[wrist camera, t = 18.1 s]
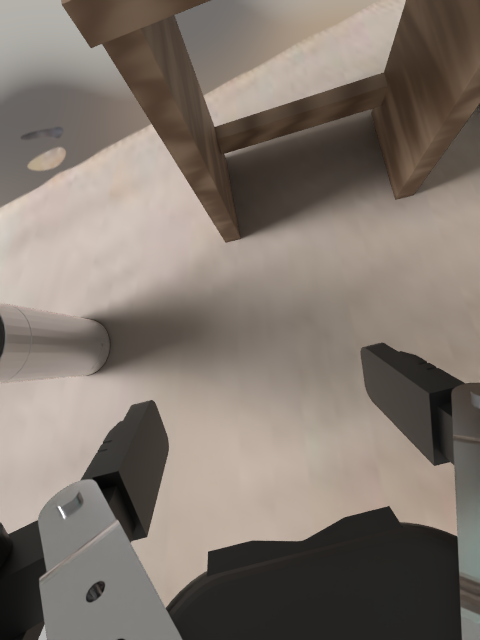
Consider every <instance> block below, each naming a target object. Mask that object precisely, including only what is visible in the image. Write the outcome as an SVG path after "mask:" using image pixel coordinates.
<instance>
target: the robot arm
mask: <svg viewBox="0 0 480 640" xmlns="http://www.w3.org/2000/svg"><path fill="white" fill-rule="evenodd" d="M109 350H110V341H109V336H108V333H107V331H106V330H105V328H104V327H103V326H102V325H101V324H100V323H98V322H97V321H94V320H91V319H85V318H80V317H75V316H69V315H64V314H58V313H53V312H47V311H42V310H36V309H31V308H25V307H20V306H14V305H8V304H2V303H0V383H8V382H20V381H31V380H42V379H53V378H64V377H76V376H87V375H90V374H93V373H95V372H96V371H98V370H99V369H100V368H101V367H102V366H103V364H104V363H105V361H106V359H107V357H108V354H109ZM361 360H362V367H363V374H364V381H365V387H366V390H367V393H368V395H369V397H370V399H371V400H372V402H373V403H374V404H375V405H376V406H377V407H378V408H379V409H380V410H381V411H382V412H383V413H384V414H385V415H386V416H387V417H388V418H389V419H390V420H391V421H392V422H393V423H394V424H395V426H396V427H397V428H398V429H399V430H400V431H401V432H402V433H403V434H404V435H405V436H406V437H407V438H408V439H409V440H410V441H411V442H412V443H413V444H414V445H415V446H416V447H417V448H418V449H419V450H420V452H421V453H422V454H423V455H424V456H425V457H426V458H427V459H428V460H429V461H430V462H431V463H432V464H433V465H434V466H436V465H440V464H444V463H448V462H451V463H452V464H453V465H454V468H455V490H456V513H457V535H458V537H457V536H455V535H453V534H450V533H448V532H445V531H442V530H439V529H436V528H433V527H429V526H424V525H420V524H413V523H403V522H399V521H398V519H397V518H396V516H395V514H394V513H393V511H392V510H391V508H390V507H389V506H388V507H384V508H380V509H376V510H372V511H368V512H364V513H360V514H356V515H352V516H348V517H345V518H343V519H341V520H339V521H338V522H336V523H334V524H332V525H330V526H329V527H327V528H325V529H323V530H322V531H320V532H318V533H316V534H315V535H313V536H311V537H309V538H308V539H306V540H303V541H249V542H245V543H241V544H237V545H233V546H229V547H225V548H221V549H217V550H213V551H209V552H208V569H207V571H206V572H204V573H203V574H201V575H200V576H198V577H197V578H196V579H194V580H193V581H191V582H190V583H189V584H188V585H187V586H186V587H185V588H183V589H182V590H181V591H180V592H179V593H178V594H177V596H176V597H175V598H174V599H173V600H172V601H171V602H170V603H169V605H168V606H167V607H166V608H165V606H164V604H163V603H162V601H161V599H160V597H159V595H158V593H157V591H156V590H155V588H154V586H153V584H152V582H151V580H150V578H149V577H148V575H147V573H146V571H145V569H144V567H143V565H142V564H141V562H140V560H139V558H138V556H137V554H136V552H135V551H134V549H133V547H132V545H131V541H134V540H138V539H141V538H145V537H147V535H148V531H149V527H150V523H151V519H152V515H153V511H154V507H155V503H156V499H157V496H158V492H159V488H160V484H161V480H162V476H163V472H164V468H165V464H166V460H167V456H168V451H169V443H168V437H167V433H166V431H165V428H164V425H163V422H162V420H161V417H160V414H159V411H158V409H157V406H156V404H155V402H154V401H153V400H150V401H146V402H142V403H138V404H134V405H132V406H131V407H130V409H129V411H128V413H127V414H126V416H125V418H124V420H123V421H120V422H119V423H118V424H117V425H116V426H115V427H114V428H113V429H112V430H111V431H110V432H109V433H108V435H107V436H106V438H105V440H104V441H103V444H102V445H101V446H100V448H99V450H98V453H96V455H95V457H94V458H93V460H92V462H91V463H90V465H89V467H88V468H87V470H86V472H85V473H84V475H83V477H82V478H81V480H80V481H78V482H75V483H73V484H71V485H69V486H67V487H66V488H64V489H62V490H61V491H60V492H58V493H57V494H56V495H55V496H53V497H52V498H51V499H50V500H49V501H48V502H47V504H46V505H45V506H44V507H43V509H42V510H41V512H40V514H39V518H38V520H37V521H35V522H33V523H31V524H29V525H27V526H25V527H23V528H21V529H19V530H16V531H14V532H12V533H10V534H8V533H7V532H6V530H5V528H4V527H3V525H2V523H0V640H38V638H39V636H40V634H41V631H42V629H43V626H44V624H45V629H46V636H47V640H480V383H466V384H465V383H464V382H462V381H460V380H458V379H457V378H455V377H453V376H451V375H450V374H448V373H446V372H444V371H443V370H441V369H439V368H436V366H434V365H432V364H430V363H427V361H425V360H423V359H422V358H420V357H418V356H416V355H413V354H409V353H406V352H402V351H400V352H398V351H396V350H395V349H393V348H391V347H390V346H388V345H386V344H385V343H378V344H374V345H370V346H366V347H363V348H362V349H361Z"/></svg>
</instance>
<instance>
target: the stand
mask: <svg viewBox="0 0 480 640" xmlns="http://www.w3.org/2000/svg"><path fill="white" fill-rule="evenodd" d="M208 1H210V0H61V2H62V6H63V7H64V9H65V10H66V11H67V13H68V15H69V16H70V18H71V19H72V21H73V22H74V23H75V25H76V26H77V28H78V29H79V31H80V32H81V34H82V36H83V37H84V38H85V40H86V41H87V43H88V44H89V46H90V47H91V48H93V47H95V46H97V45H100V44H103V46H104V48H105V49H106V51H107V53H108V54H109V56H110V57H111V59H112V61H113V62H114V64H115V65H116V67H117V69H118V70H119V72H120V74H121V75H122V76H123V78H124V80H125V82H126V83H127V85H128V86H129V88H130V90H131V91H132V93H133V94H134V96H135V98H136V99H137V101H138V102H139V104H140V106H141V107H142V109H143V110H144V112H145V113H146V115H147V117H148V118H149V120H150V122H151V123H152V125H153V127H154V128H155V130H156V131H157V133H158V135H159V136H160V138H161V139H162V141H163V143H164V144H165V146H166V147H167V149H168V151H169V152H170V154H171V155H172V157H173V159H174V160H175V162H176V163H177V165H178V167H179V168H180V170H181V172H182V173H183V175H184V176H185V178H186V180H187V181H188V183H189V184H190V186H191V188H192V189H193V191H194V192H195V194H196V196H197V197H198V199H199V200H200V202H201V204H202V205H203V207H204V208H205V210H206V212H207V213H208V215H209V217H210V218H211V220H212V221H213V223H214V225H215V226H216V228H217V229H218V231H219V233H220V234H221V236H222V237H223V239H224V241H225V242H229V241H233V240H237V239H241V238H240V233H239V228H238V222H237V217H236V211H235V206H234V201H233V195H232V190H231V185H230V179H229V174H228V168H227V163H226V158H225V155H224V154H225V153H228V152H232V151H235V150H238V149H242V148H245V147H248V146H251V145H255V144H258V143H261V142H264V141H268V140H271V139H274V138H278V137H281V136H284V135H287V134H291V133H294V132H297V131H301V130H304V129H307V128H310V127H314V126H317V125H320V124H324V123H327V122H330V121H333V120H337V119H340V118H343V117H346V116H350V115H353V114H356V113H360V112H363V111H366V110H369V109H373V110H372V113H371V115H372V119H373V122H374V126H375V129H376V133H377V136H378V140H379V143H380V147H381V151H382V154H383V158H384V161H385V165H386V168H387V172H388V175H389V179H390V182H391V186H392V189H393V193H394V196H395V200H396V199H400V198H404V197H408V196H412V195H414V194H415V192H416V191H417V189H418V188H419V187H420V185H421V184H422V183H423V181H424V180H425V178H426V177H427V176H428V174H429V173H430V171H431V170H432V169H433V167H434V166H435V165H436V163H437V162H438V160H439V159H440V158H441V156H442V155H443V153H444V152H445V151H446V149H447V148H448V147H449V145H450V144H451V142H452V141H453V140H454V138H455V137H456V135H457V134H458V133H459V131H460V130H461V129H462V127H463V126H464V124H465V123H466V122H467V120H468V119H469V117H470V116H471V115H472V113H473V112H474V111H475V109H476V108H477V106H478V105H479V104H480V0H406V3H405V6H404V9H403V12H402V16H401V19H400V22H399V25H398V29H397V32H396V35H395V38H394V42H393V45H392V48H391V51H390V55H389V58H388V61H387V64H386V68H385V71H384V73H381V74H378V75H375V76H372V77H368V78H365V79H362V80H359V81H356V82H353V83H350V84H347V85H344V86H341V87H337V88H334V89H331V90H328V91H325V92H322V93H319V94H316V95H313V96H310V97H306V98H303V99H300V100H297V101H294V102H291V103H288V104H285V105H282V106H279V107H275V108H272V109H269V110H266V111H263V112H260V113H257V114H254V115H251V116H248V117H244V118H241V119H238V120H235V121H232V122H229V123H226V124H223V125H220V126H217V127H214V124H213V122H212V119H211V116H210V113H209V111H208V108H207V105H206V102H205V99H204V97H203V94H202V91H201V88H200V85H199V83H198V80H197V77H196V74H195V71H194V69H193V66H192V63H191V60H190V58H189V55H188V52H187V49H186V47H185V44H184V41H183V38H182V35H181V32H180V30H179V27H178V24H177V21H176V19H175V16H174V15H175V14H178V13H180V12H183V11H185V10H188V9H190V8H193V7H195V6H198V5H200V4H203V3H205V2H208Z"/></svg>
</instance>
